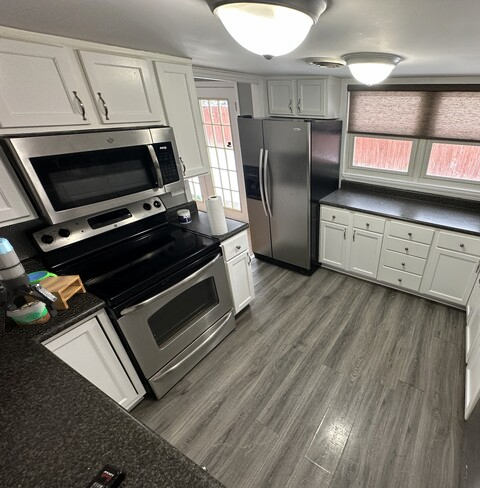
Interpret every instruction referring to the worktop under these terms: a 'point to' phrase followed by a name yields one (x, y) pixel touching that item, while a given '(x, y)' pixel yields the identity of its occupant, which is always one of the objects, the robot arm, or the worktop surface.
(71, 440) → the worktop surface
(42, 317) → the food container
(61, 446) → the worktop surface
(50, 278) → the shelf
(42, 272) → the snack cup
